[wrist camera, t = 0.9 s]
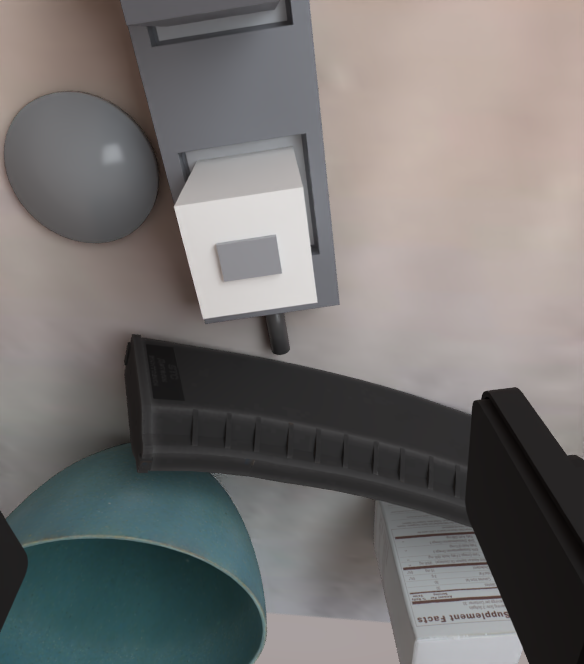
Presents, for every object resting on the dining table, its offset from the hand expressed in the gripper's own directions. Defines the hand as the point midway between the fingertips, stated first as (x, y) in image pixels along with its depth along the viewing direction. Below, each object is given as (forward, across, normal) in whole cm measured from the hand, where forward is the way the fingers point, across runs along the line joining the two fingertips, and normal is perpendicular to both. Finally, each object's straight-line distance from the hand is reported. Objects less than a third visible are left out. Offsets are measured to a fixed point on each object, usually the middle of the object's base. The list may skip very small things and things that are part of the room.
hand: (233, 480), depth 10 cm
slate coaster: (+22, +9, -2) cm, 24 cm away
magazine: (+23, -4, +16) cm, 28 cm away
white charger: (+20, 0, +1) cm, 21 cm away
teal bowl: (+23, +12, +22) cm, 34 cm away
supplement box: (+23, -9, +30) cm, 39 cm away
